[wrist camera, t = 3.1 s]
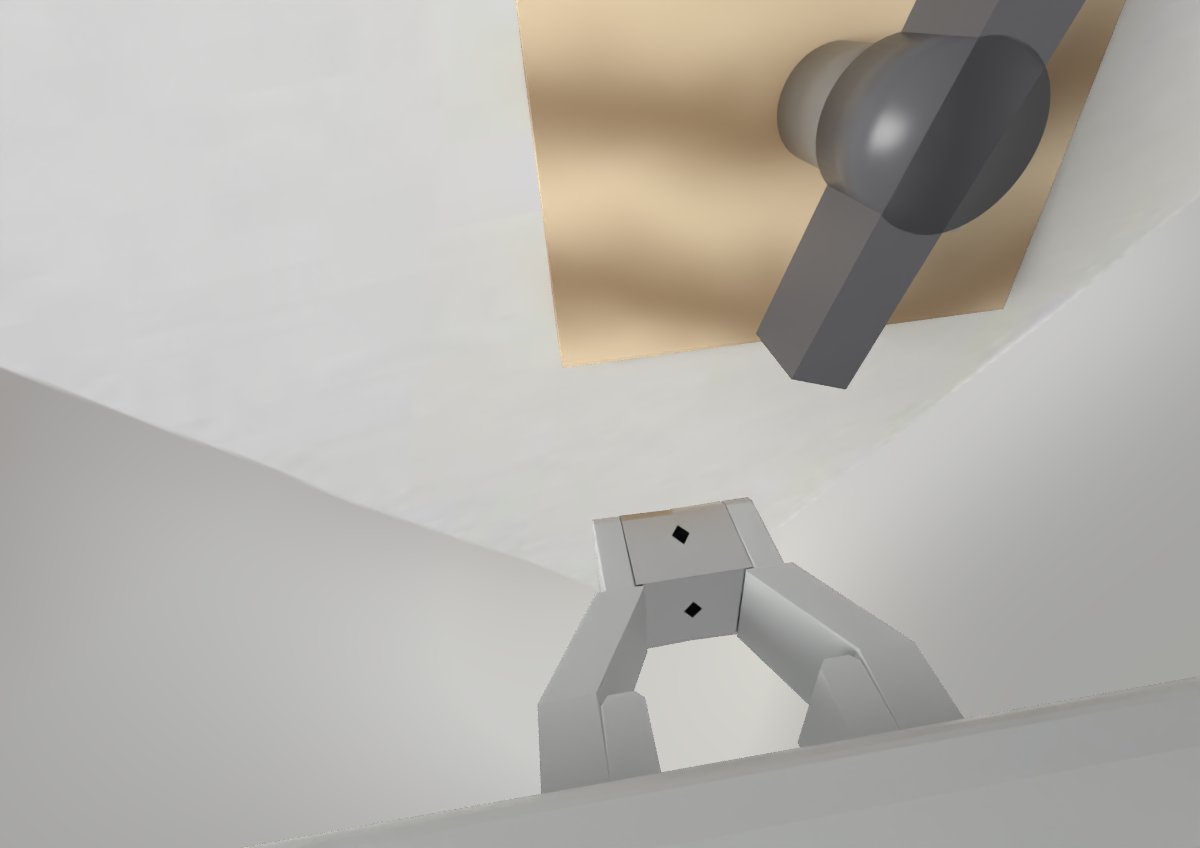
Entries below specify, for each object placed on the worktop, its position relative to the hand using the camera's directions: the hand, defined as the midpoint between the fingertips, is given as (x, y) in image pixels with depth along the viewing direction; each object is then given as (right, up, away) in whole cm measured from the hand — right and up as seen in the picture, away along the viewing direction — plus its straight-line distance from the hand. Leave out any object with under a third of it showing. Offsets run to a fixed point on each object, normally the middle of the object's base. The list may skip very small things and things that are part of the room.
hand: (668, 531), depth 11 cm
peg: (+9, +12, +9) cm, 18 cm away
